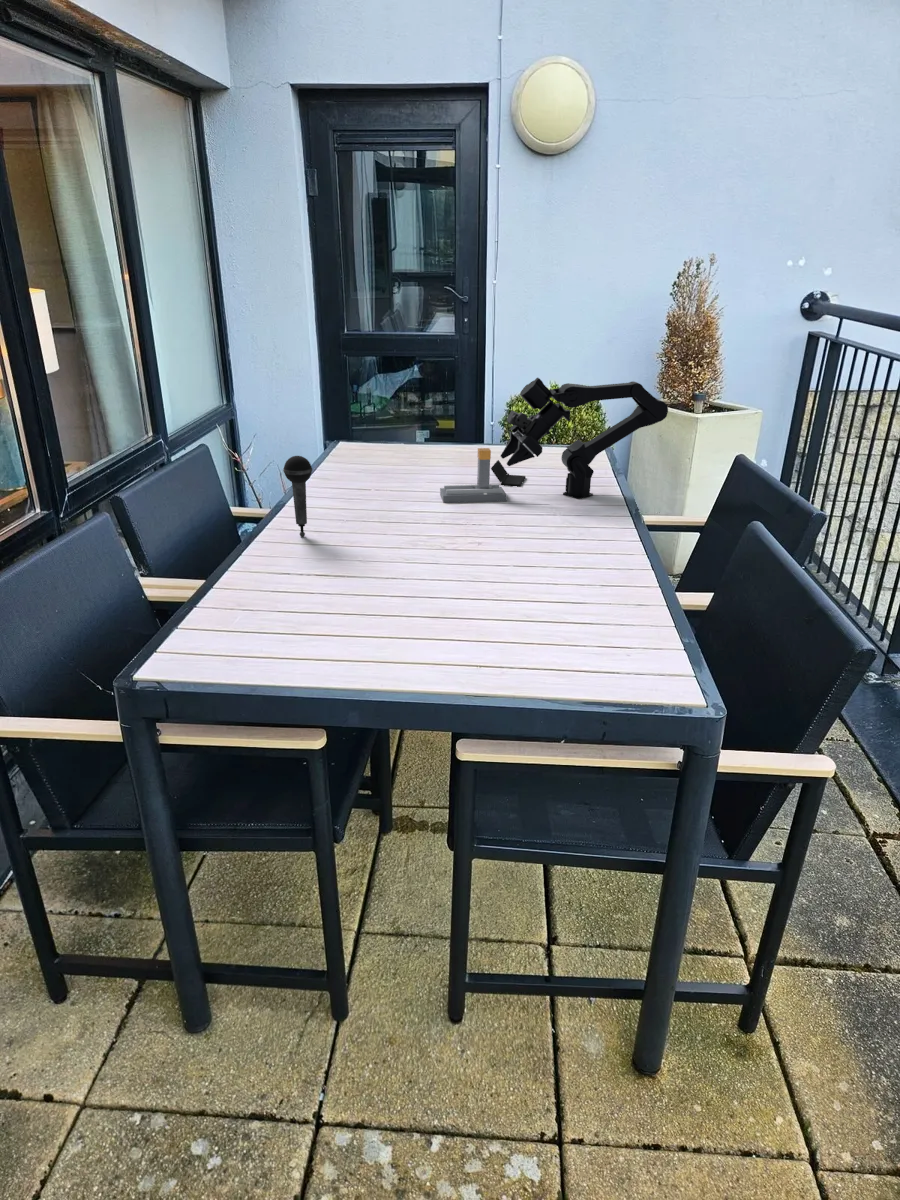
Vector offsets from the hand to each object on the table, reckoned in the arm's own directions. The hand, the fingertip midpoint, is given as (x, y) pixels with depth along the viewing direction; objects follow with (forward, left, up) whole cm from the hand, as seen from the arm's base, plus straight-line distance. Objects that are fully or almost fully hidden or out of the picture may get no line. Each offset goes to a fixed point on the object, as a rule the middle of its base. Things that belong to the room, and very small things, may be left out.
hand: (504, 461), depth 223 cm
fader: (+3, +5, -8) cm, 10 cm away
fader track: (+5, +7, -11) cm, 14 cm away
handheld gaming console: (+11, -14, -11) cm, 21 cm away
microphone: (+7, +63, -11) cm, 64 cm away
